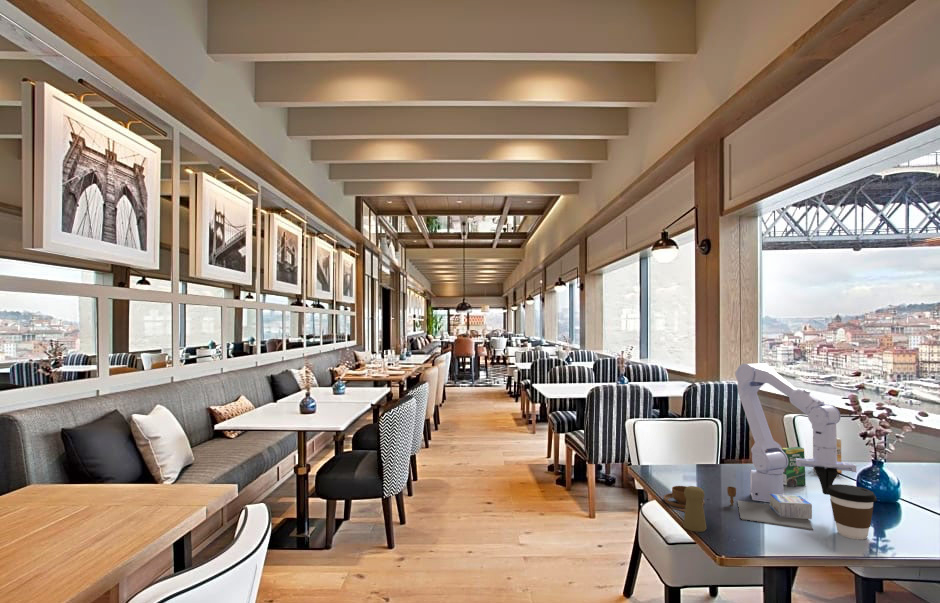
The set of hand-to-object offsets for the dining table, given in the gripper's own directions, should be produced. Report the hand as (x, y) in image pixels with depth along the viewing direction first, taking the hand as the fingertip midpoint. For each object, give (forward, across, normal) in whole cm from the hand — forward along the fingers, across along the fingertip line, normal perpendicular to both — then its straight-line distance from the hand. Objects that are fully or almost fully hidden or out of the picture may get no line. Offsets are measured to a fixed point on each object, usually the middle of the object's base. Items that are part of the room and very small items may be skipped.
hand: (826, 493), depth 151 cm
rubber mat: (+7, -14, -4) cm, 16 cm away
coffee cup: (+7, +4, -11) cm, 14 cm away
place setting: (+8, -34, -4) cm, 36 cm away
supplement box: (+8, +11, +60) cm, 61 cm away
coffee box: (+7, -4, +33) cm, 34 cm away
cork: (+7, -35, -24) cm, 43 cm away
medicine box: (+5, -5, 0) cm, 7 cm away
